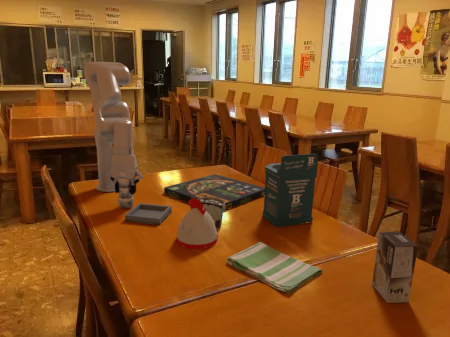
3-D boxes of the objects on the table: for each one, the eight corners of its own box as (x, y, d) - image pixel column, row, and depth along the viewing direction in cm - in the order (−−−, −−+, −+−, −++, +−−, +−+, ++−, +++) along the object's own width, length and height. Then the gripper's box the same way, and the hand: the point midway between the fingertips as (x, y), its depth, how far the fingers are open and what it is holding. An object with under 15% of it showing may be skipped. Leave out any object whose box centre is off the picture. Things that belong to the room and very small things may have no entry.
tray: (139, 208, 157) (139, 203, 157) (171, 211, 155) (171, 206, 154) (125, 221, 144) (124, 215, 143) (159, 224, 142) (159, 218, 141)
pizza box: (267, 195, 181) (267, 188, 180) (218, 214, 156) (218, 206, 155) (214, 180, 203) (214, 174, 202) (164, 194, 178) (164, 187, 177)
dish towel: (287, 297, 99) (288, 288, 98) (224, 265, 115) (224, 257, 114) (322, 273, 112) (323, 265, 111) (261, 247, 127) (261, 239, 127)
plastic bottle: (136, 205, 161) (134, 160, 156) (130, 210, 155) (129, 163, 150) (121, 204, 162) (119, 159, 157) (115, 209, 155) (113, 163, 150)
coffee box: (410, 302, 98) (420, 246, 94) (386, 303, 97) (395, 246, 93) (392, 283, 107) (400, 231, 102) (370, 283, 106) (377, 231, 102)
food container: (230, 224, 144) (230, 199, 142) (223, 230, 139) (224, 204, 136) (201, 218, 149) (202, 194, 147) (194, 223, 144) (194, 199, 141)
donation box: (276, 227, 143) (281, 155, 136) (257, 212, 157) (261, 147, 150) (312, 222, 148) (318, 153, 141) (291, 208, 163) (296, 145, 156)
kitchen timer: (199, 228, 140) (199, 190, 136) (225, 241, 130) (226, 200, 126) (169, 239, 130) (168, 198, 126) (194, 253, 121) (195, 209, 117)
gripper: (99, 151, 150) (102, 193, 155) (140, 154, 147) (141, 197, 152) (108, 147, 157) (110, 188, 162) (147, 150, 154) (148, 192, 159)
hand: (125, 192), depth 157 cm, fingers open, 6 cm apart
